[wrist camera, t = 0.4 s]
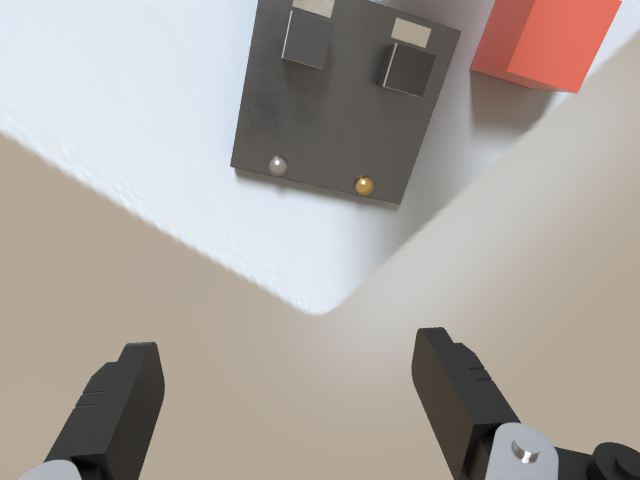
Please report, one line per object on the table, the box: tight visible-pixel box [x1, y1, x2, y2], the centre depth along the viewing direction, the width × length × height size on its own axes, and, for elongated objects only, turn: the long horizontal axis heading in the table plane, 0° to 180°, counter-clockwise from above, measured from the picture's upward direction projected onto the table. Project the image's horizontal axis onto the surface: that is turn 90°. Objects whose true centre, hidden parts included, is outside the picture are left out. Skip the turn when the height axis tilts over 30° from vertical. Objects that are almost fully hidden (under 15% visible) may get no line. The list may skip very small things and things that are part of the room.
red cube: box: [470, 0, 622, 93], centre depth 31 cm, size 6×6×6 cm
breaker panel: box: [230, 0, 461, 204], centre depth 33 cm, size 15×16×3 cm
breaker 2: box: [377, 43, 436, 97], centre depth 31 cm, size 3×3×3 cm
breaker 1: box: [282, 11, 334, 69], centre depth 29 cm, size 3×3×3 cm
